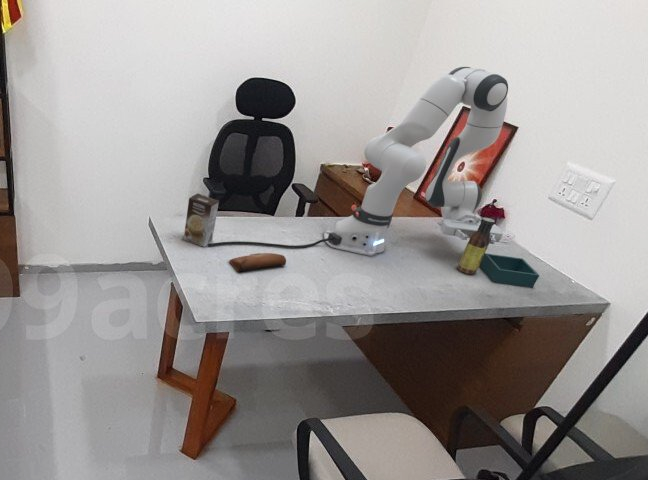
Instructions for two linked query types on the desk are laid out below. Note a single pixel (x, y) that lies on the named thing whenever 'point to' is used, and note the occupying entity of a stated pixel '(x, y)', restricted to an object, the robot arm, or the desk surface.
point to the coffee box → (200, 219)
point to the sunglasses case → (257, 261)
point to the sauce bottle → (476, 247)
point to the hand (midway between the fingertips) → (478, 240)
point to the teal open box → (509, 270)
